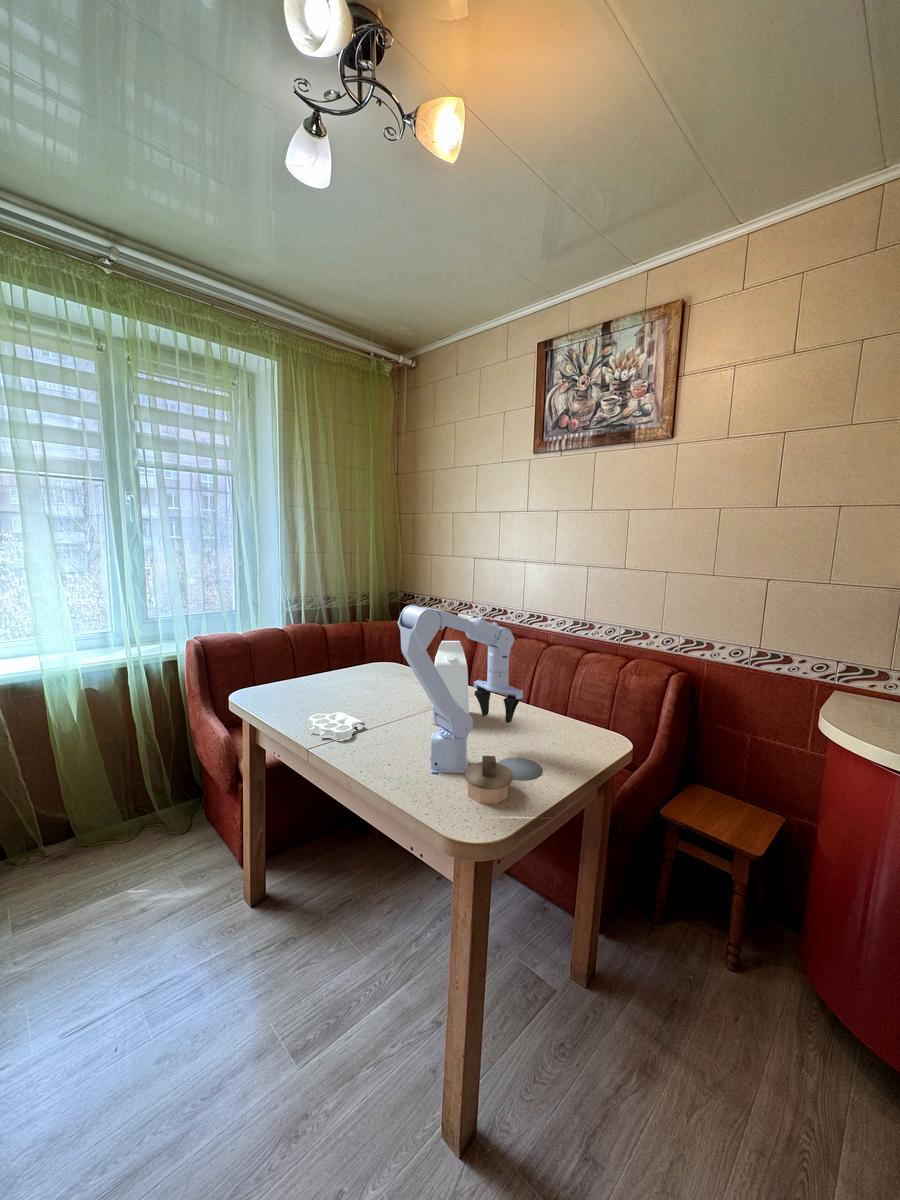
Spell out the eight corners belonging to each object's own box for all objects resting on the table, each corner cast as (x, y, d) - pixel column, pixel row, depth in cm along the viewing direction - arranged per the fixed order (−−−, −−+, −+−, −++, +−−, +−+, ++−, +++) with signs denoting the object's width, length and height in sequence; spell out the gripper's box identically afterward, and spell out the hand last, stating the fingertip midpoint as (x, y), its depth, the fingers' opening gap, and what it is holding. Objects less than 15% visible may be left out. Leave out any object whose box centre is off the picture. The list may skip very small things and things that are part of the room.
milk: (466, 711, 155) (467, 637, 152) (469, 724, 144) (470, 645, 141) (432, 711, 155) (432, 637, 152) (431, 724, 144) (432, 645, 141)
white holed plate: (372, 732, 138) (331, 747, 127) (337, 717, 150) (297, 730, 139) (371, 721, 138) (330, 736, 127) (337, 707, 150) (297, 719, 139)
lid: (464, 788, 98) (465, 770, 98) (465, 764, 109) (465, 747, 109) (515, 790, 98) (515, 771, 98) (510, 765, 109) (510, 748, 108)
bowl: (468, 804, 99) (468, 787, 99) (467, 783, 108) (467, 767, 108) (509, 805, 99) (509, 788, 99) (504, 783, 108) (505, 768, 108)
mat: (497, 781, 109) (497, 780, 109) (493, 758, 121) (493, 757, 121) (547, 782, 109) (547, 780, 109) (538, 759, 121) (538, 757, 121)
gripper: (529, 671, 120) (527, 720, 122) (484, 662, 129) (483, 708, 131) (515, 677, 115) (514, 728, 117) (469, 667, 124) (468, 715, 126)
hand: (496, 718), depth 123 cm, fingers open, 7 cm apart
